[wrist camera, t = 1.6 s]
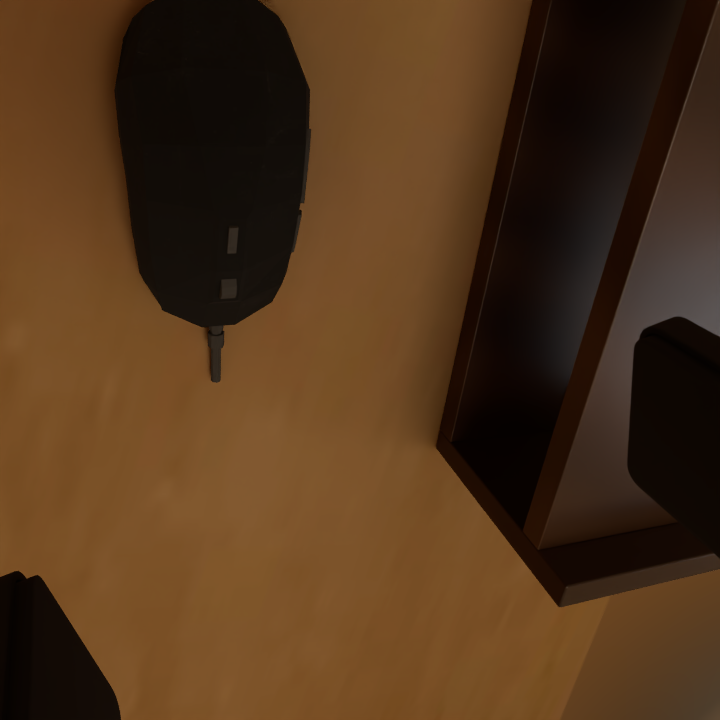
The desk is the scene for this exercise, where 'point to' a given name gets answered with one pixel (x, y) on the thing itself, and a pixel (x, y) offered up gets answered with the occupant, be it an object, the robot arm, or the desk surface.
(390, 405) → the desk surface
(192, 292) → the gaming mouse
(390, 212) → the desk surface
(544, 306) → the shelf
